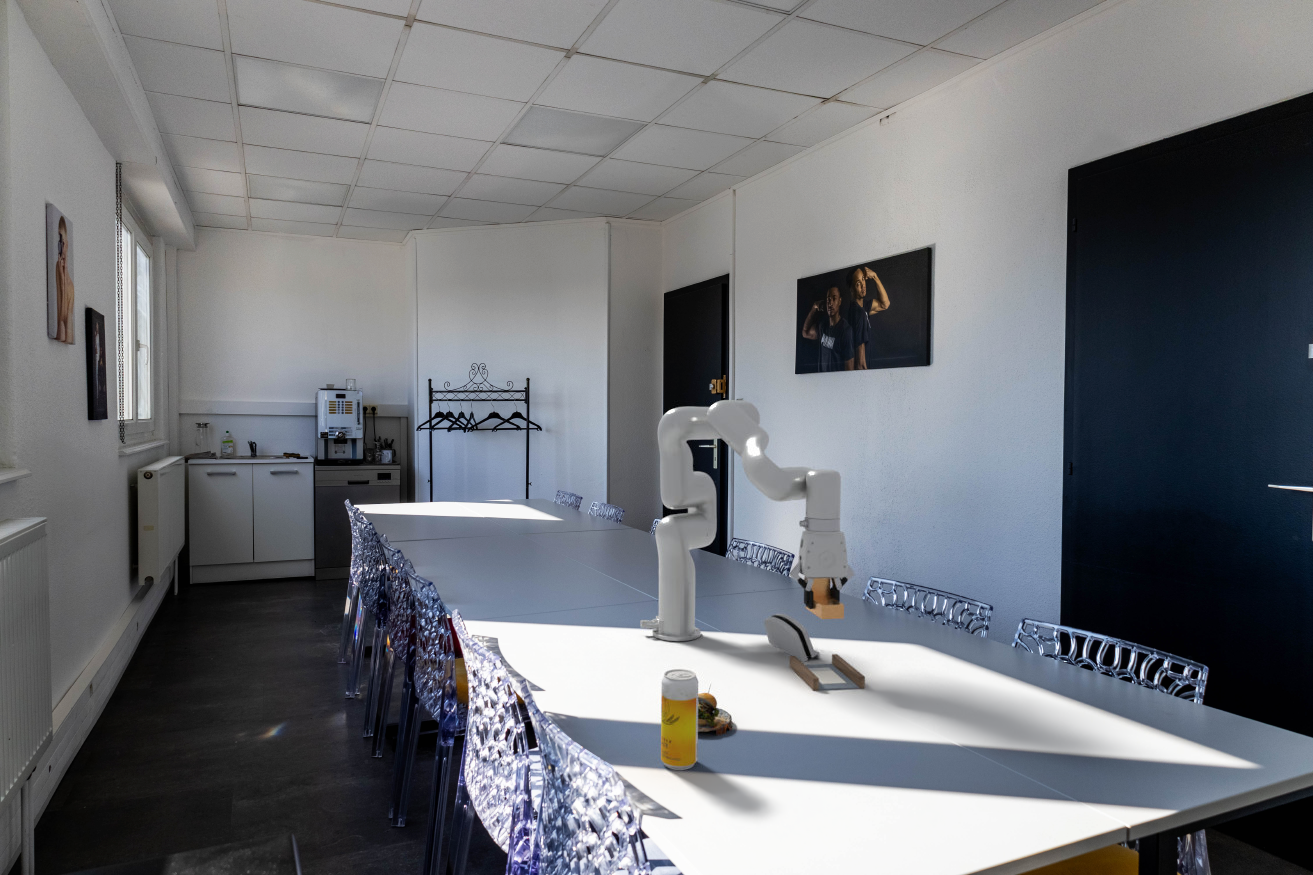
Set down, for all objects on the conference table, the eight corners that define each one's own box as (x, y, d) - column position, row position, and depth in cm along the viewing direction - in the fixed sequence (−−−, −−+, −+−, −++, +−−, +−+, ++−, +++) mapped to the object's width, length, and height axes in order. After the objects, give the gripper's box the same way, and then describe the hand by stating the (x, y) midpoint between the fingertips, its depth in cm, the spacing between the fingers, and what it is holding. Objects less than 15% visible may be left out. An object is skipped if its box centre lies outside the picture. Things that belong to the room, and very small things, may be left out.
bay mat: (819, 690, 171) (819, 688, 171) (794, 666, 186) (795, 664, 186) (858, 688, 172) (858, 686, 172) (831, 664, 188) (831, 663, 188)
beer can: (659, 755, 137) (660, 668, 137) (694, 754, 138) (695, 667, 137) (662, 771, 131) (663, 680, 131) (699, 770, 132) (700, 679, 131)
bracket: (805, 607, 182) (806, 577, 182) (826, 607, 183) (827, 576, 183) (821, 619, 172) (821, 586, 172) (843, 618, 173) (844, 585, 173)
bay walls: (813, 690, 170) (813, 678, 170) (789, 666, 186) (789, 655, 186) (864, 688, 172) (864, 676, 172) (836, 664, 188) (837, 654, 188)
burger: (659, 719, 155) (659, 680, 154) (714, 710, 159) (714, 672, 159) (685, 742, 144) (686, 701, 143) (744, 732, 148) (744, 692, 148)
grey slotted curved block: (822, 659, 192) (810, 621, 190) (805, 668, 190) (793, 629, 189) (785, 640, 207) (774, 605, 206) (770, 648, 206) (759, 612, 204)
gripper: (791, 528, 174) (790, 612, 174) (866, 527, 176) (865, 610, 177) (780, 523, 181) (779, 604, 182) (852, 522, 184) (851, 602, 184)
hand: (821, 606), depth 179 cm, fingers closed on bracket, 5 cm apart
